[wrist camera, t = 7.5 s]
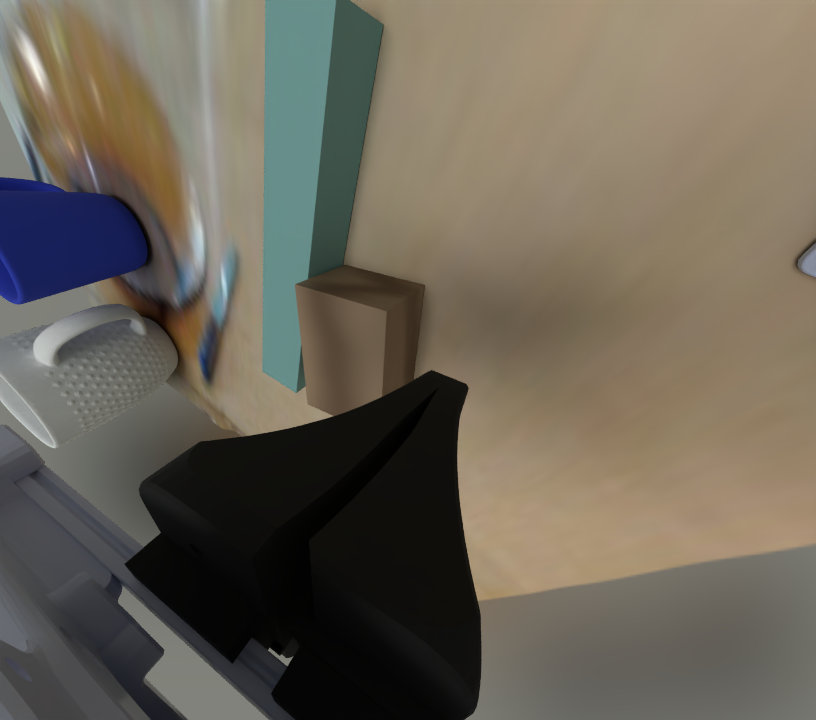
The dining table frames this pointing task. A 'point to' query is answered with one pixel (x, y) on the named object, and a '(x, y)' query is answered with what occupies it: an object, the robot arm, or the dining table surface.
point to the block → (357, 336)
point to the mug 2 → (82, 370)
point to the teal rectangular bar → (309, 155)
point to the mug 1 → (62, 239)
